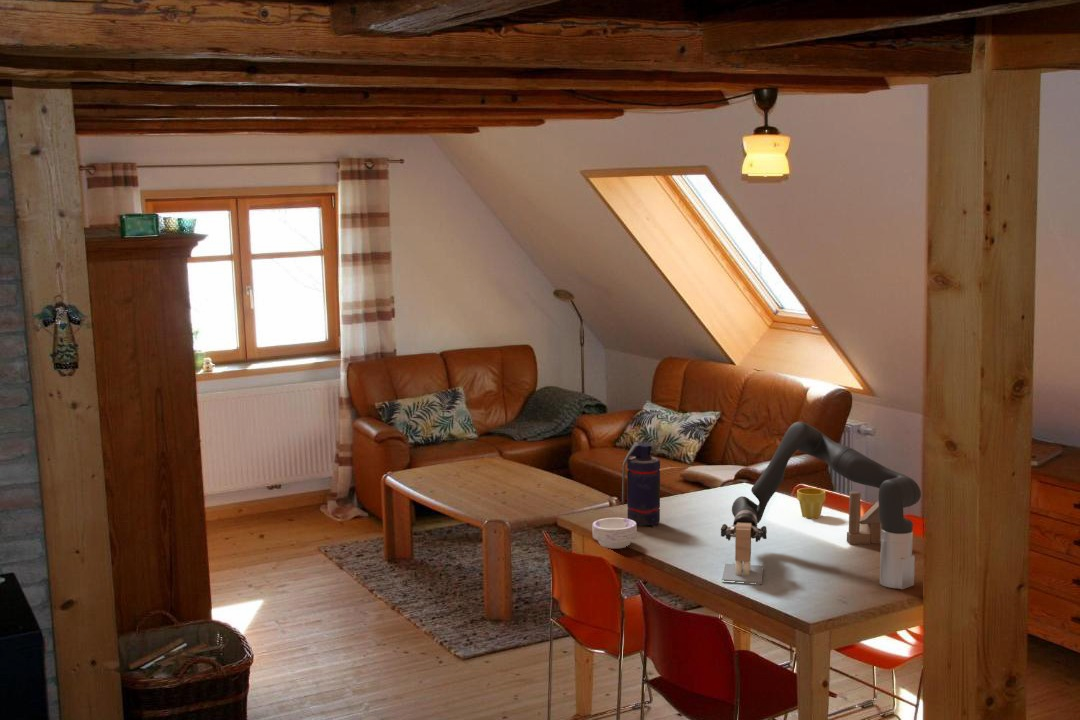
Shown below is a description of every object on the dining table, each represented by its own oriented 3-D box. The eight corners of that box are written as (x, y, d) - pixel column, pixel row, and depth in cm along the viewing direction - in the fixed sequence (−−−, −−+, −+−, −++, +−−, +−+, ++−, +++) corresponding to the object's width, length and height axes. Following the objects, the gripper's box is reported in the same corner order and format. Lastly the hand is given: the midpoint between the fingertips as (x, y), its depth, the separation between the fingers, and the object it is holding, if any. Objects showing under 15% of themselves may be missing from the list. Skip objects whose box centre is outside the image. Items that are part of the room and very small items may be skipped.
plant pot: (791, 516, 433) (791, 490, 431) (807, 511, 440) (807, 485, 438) (814, 521, 425) (815, 495, 424) (830, 516, 432) (831, 490, 431)
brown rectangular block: (736, 552, 369) (737, 522, 367) (750, 553, 368) (751, 523, 366) (735, 560, 361) (735, 529, 360) (749, 561, 360) (750, 530, 359)
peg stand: (725, 566, 374) (725, 548, 374) (763, 568, 372) (763, 550, 371) (722, 582, 359) (722, 563, 358) (761, 584, 356) (761, 566, 355)
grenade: (658, 519, 430) (658, 439, 426) (661, 528, 419) (661, 446, 415) (621, 519, 431) (621, 440, 427) (622, 528, 419) (622, 446, 415)
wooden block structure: (880, 543, 397) (882, 492, 395) (850, 545, 396) (851, 493, 394) (876, 540, 401) (878, 490, 398) (846, 541, 400) (847, 491, 397)
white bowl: (585, 541, 403) (585, 519, 402) (625, 536, 408) (625, 515, 407) (603, 554, 389) (603, 531, 388) (644, 548, 394) (644, 526, 393)
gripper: (723, 511, 377) (719, 525, 362) (767, 513, 374) (766, 527, 359) (723, 533, 378) (719, 548, 363) (767, 536, 375) (765, 551, 360)
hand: (742, 538), depth 361 cm, fingers open, 8 cm apart
